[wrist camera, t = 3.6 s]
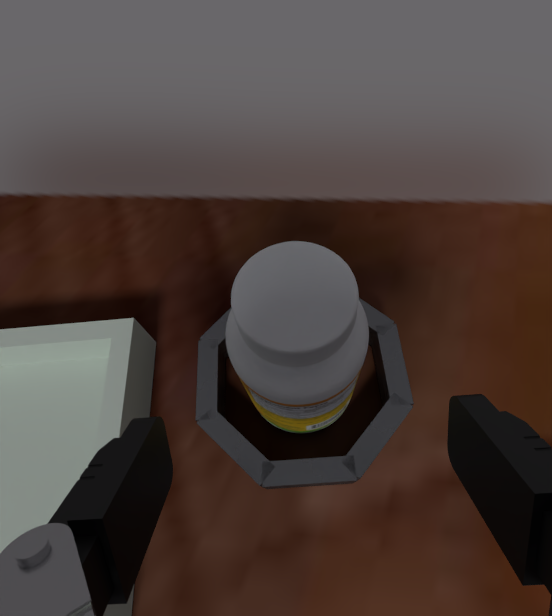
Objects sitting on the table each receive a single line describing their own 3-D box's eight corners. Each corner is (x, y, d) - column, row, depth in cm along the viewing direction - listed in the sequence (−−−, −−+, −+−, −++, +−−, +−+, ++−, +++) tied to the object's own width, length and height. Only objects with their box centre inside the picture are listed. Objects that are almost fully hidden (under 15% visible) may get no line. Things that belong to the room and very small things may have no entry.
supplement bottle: (268, 325, 22) (241, 209, 14) (362, 349, 21) (397, 240, 13) (235, 417, 20) (179, 347, 11) (338, 449, 19) (362, 400, 10)
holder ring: (204, 493, 19) (192, 491, 17) (208, 306, 23) (200, 289, 21) (417, 478, 18) (429, 475, 16) (379, 291, 23) (384, 273, 21)
